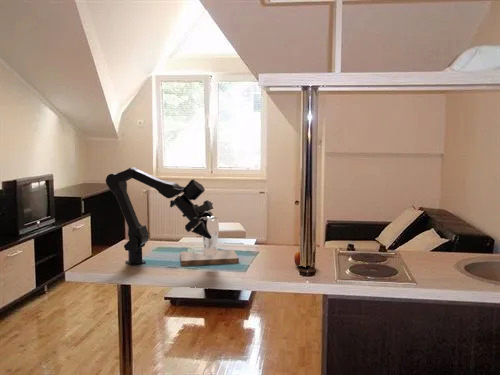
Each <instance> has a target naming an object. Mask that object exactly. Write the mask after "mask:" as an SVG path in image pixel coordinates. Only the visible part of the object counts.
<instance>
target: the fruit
mask: <svg viewBox="0 0 500 375" xmlns="http://www.w3.org/2000/svg"><path fill="white" fill-rule="evenodd" d="M300 251H301V250H299V251H295V253H294V257H293V258H294V259H293V260H294V264H295V266H296V268H300V267H299V265H300Z"/></svg>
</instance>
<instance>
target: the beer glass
mask: <svg viewBox="0 0 500 375" xmlns="http://www.w3.org/2000/svg"><path fill="white" fill-rule="evenodd" d="M202 221H204V227H205V228H206V230H207V231H208V233H209V234H210V235H211V237H212V238H211V239H208V238H206V237H203V236H202V237H201V238H202V244H203V250H202V251H203V256H208V257H212V256H217V255H218V252H217V250H218V248H217V247H218V246H217V244H218V239H219V234H220V233H219V229H220V226H219V225H220V224H219V218H218V217H215V216H212V217H203V218H202Z"/></svg>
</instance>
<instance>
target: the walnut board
mask: <svg viewBox="0 0 500 375" xmlns="http://www.w3.org/2000/svg"><path fill="white" fill-rule="evenodd" d="M217 252H218V255H217V256H212V257H208V256H203V254H197V253H196V254H195V253H189V251H179V255H180V256H179V258H180V265H181V266H198V265H199V266H200V265H220V264H239V263H240V258H239V256H238V255H237V253H236V251H235V249H217Z"/></svg>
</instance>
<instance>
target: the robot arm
mask: <svg viewBox="0 0 500 375" xmlns="http://www.w3.org/2000/svg"><path fill="white" fill-rule="evenodd" d="M105 178H106V179H105V183H106V186H107V187H108V189H109V190H110V191H111V192H112V194H113V195H114V196H115V197H116V201H117V202H118V205H119V208H120V210H121V212H122V215H123V217H124V220H125V223H126V225H127V228H128V229H127V236H128V241H126V243H125V244H123V248H124V250H125V251H127V256H128V257H127V259H128V260H124V261H125V263H126V264H128V265H130V266H136V265H142V264H146V263H147V262H146V261H145V260H143V248H144V247H145V246H146V244H147V243H148V242H149V240H150V236H149V235H150V232H149V231H148V229H147V226H146V225H142V224H141V223H140V221H139V219H138V217H137V214H136V211H135V208H134V207H133V204H132V201H131V199H130V196H129V194H128V181H129V180H132V179H133V180H136V181H137V182H140V183H142V184H144V185H146V186H148V187H151V188H153V189H154V190H156V191H157V192H158V193H159V194H160V195H162V196H163V197H165V198H166V199H172V200H170V201H169V203H170V204H169V208H174V207H177V209H178V210H179V211H180V213H182V217H183V218H187V220H188V222H187V223H186V224H185V226H184V229H185V230H186V232H187V233H190V232H191V233H194V234H196V235H199V236H203V237H206V238H208V239H211V238H212V237H211V235H210V234H209V233H208V231H207V230H206V228H205V227H204V221H202V218H203V217H213V215H214V213H212V211H211V210H213V209H214V206H213V205H214V204H213V202H211V200H210V201H209V199H208V200H204V201H203V203H202V204H201V205H198V204H194V203H193V202H192V201H196V200H197V199H198V198H199V197H200V196H201V195H202V194H203V193H204V192H205V187H204V186H203V185H202V184H201V183H199V182H198V181H196V180H195V178H193V179H191V180H189V182H188V183H187V184H186V186H181V185H180V184H178V183H176V182H173V181H168V180H162V179H160V178H158V177H155V176H154V175H152V174H150V173H147V172H145V171H142V170H141V169H139V168H137V167H129V168H127V169H125V170H122V171H120V172H114V173H113V172H112V173H109V174H108V175H107V176H106V177H105ZM180 194H181V195H180Z"/></svg>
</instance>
